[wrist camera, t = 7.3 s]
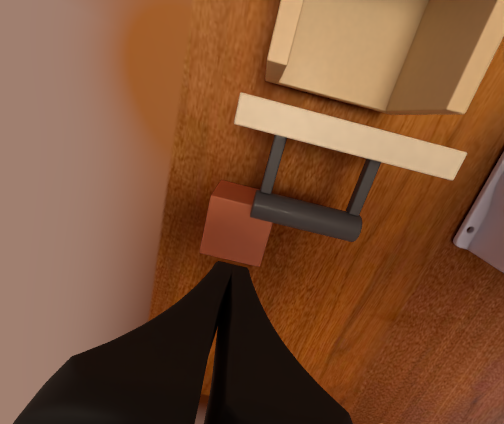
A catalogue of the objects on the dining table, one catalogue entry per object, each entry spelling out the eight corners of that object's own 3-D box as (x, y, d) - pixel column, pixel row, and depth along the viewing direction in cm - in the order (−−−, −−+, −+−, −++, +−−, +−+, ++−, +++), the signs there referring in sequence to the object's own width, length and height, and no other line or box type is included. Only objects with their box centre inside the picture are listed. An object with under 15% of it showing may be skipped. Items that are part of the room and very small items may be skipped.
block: (260, 240, 21) (259, 267, 17) (210, 228, 21) (198, 253, 17) (273, 192, 19) (276, 211, 16) (220, 179, 19) (210, 195, 15)
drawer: (355, 222, 19) (403, 276, 13) (228, 190, 19) (211, 230, 12) (497, -117, 13) (733, -350, 6) (310, -178, 12) (363, -493, 6)
